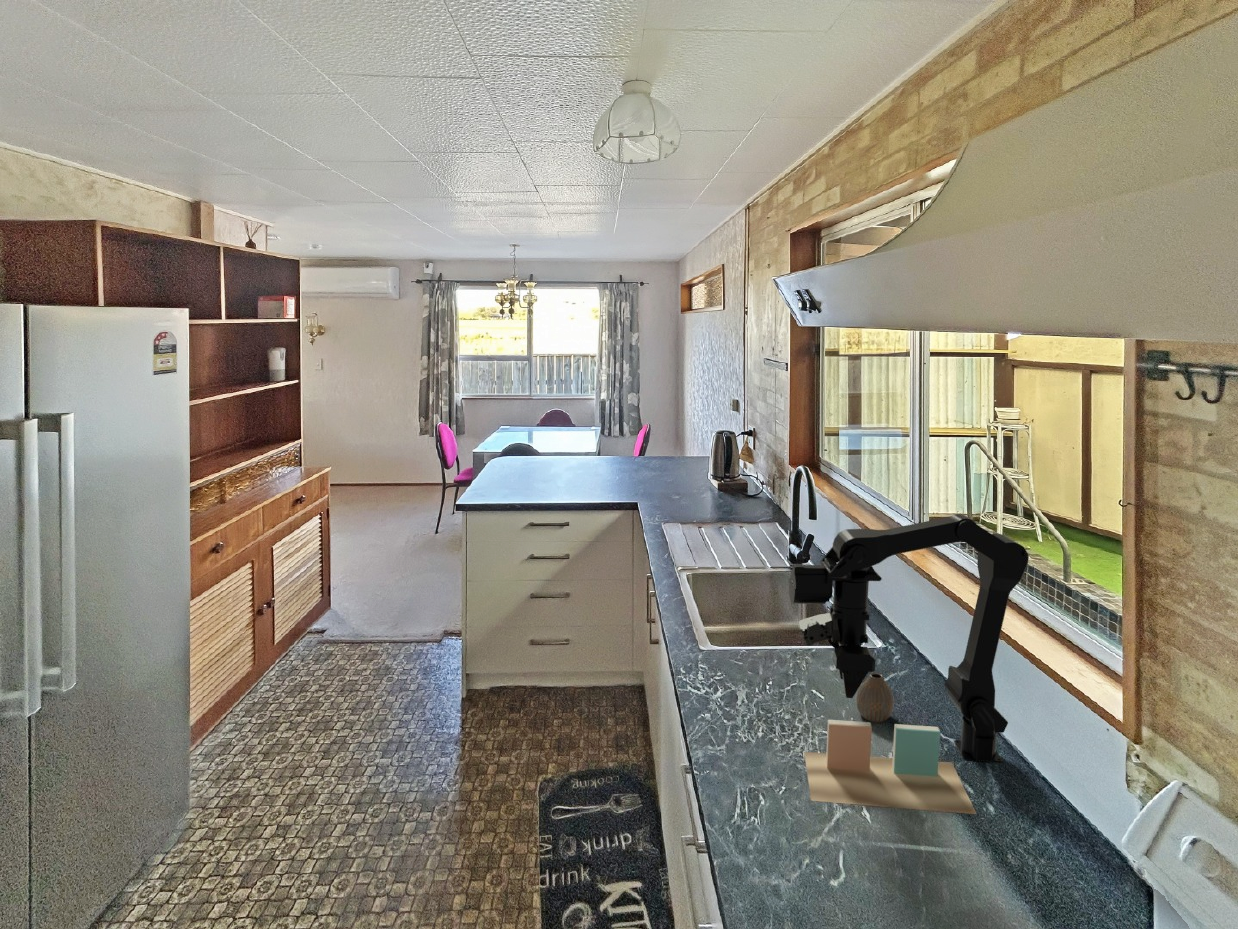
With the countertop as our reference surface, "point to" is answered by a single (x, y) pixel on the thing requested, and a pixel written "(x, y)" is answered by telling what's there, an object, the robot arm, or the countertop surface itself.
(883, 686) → the vase
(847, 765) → the terracotta tile
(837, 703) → the countertop surface
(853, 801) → the cork mat
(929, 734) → the teal tile
